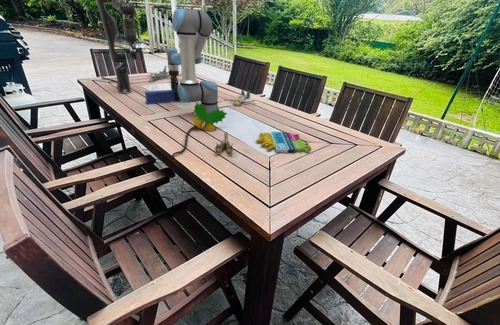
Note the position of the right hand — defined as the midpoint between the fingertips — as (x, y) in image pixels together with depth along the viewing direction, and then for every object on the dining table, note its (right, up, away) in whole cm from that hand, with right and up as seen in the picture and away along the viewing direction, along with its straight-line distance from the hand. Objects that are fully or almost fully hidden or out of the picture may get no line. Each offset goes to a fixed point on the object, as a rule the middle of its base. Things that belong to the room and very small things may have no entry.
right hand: (175, 99), depth 211 cm
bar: (-8, -3, -4) cm, 9 cm away
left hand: (-28, +28, -13) cm, 42 cm away
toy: (+53, +1, +10) cm, 54 cm away
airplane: (-35, +38, +65) cm, 83 cm away
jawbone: (+47, -45, -73) cm, 97 cm away
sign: (+79, -40, -59) cm, 106 cm away
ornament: (+35, -30, -47) cm, 65 cm away
